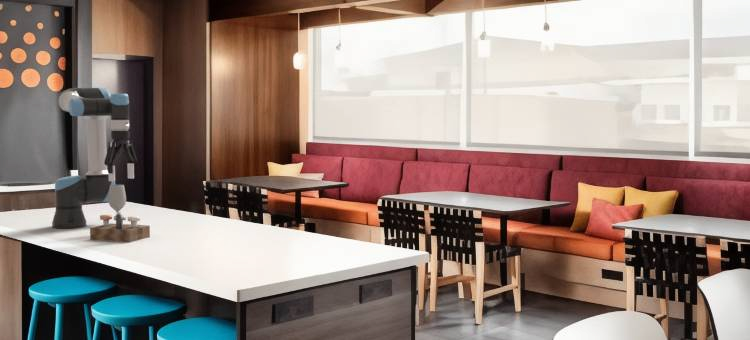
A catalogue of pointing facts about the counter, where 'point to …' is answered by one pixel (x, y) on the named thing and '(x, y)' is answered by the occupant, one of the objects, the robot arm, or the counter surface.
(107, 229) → the brown wooden holder block
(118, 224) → the gray rod
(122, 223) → the knob mid
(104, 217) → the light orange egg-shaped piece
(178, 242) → the counter surface
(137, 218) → the knob
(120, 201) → the wineglass
